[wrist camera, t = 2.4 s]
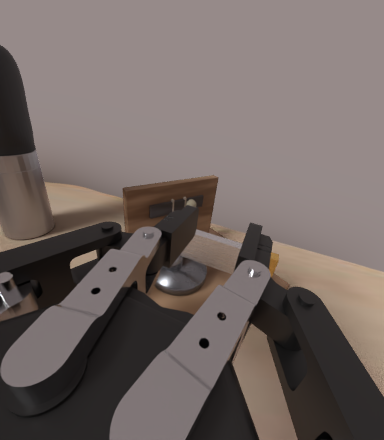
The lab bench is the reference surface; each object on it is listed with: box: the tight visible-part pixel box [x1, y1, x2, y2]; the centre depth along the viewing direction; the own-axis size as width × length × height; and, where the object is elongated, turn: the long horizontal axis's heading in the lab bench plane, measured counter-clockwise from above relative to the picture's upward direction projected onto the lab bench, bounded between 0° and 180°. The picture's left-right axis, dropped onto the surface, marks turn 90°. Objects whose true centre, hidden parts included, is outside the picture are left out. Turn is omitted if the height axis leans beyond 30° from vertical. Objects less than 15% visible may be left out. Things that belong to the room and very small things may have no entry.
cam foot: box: [154, 229, 279, 296], centre depth 33 cm, size 20×10×10 cm, turn 67°
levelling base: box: [123, 175, 289, 315], centre depth 36 cm, size 22×24×16 cm
